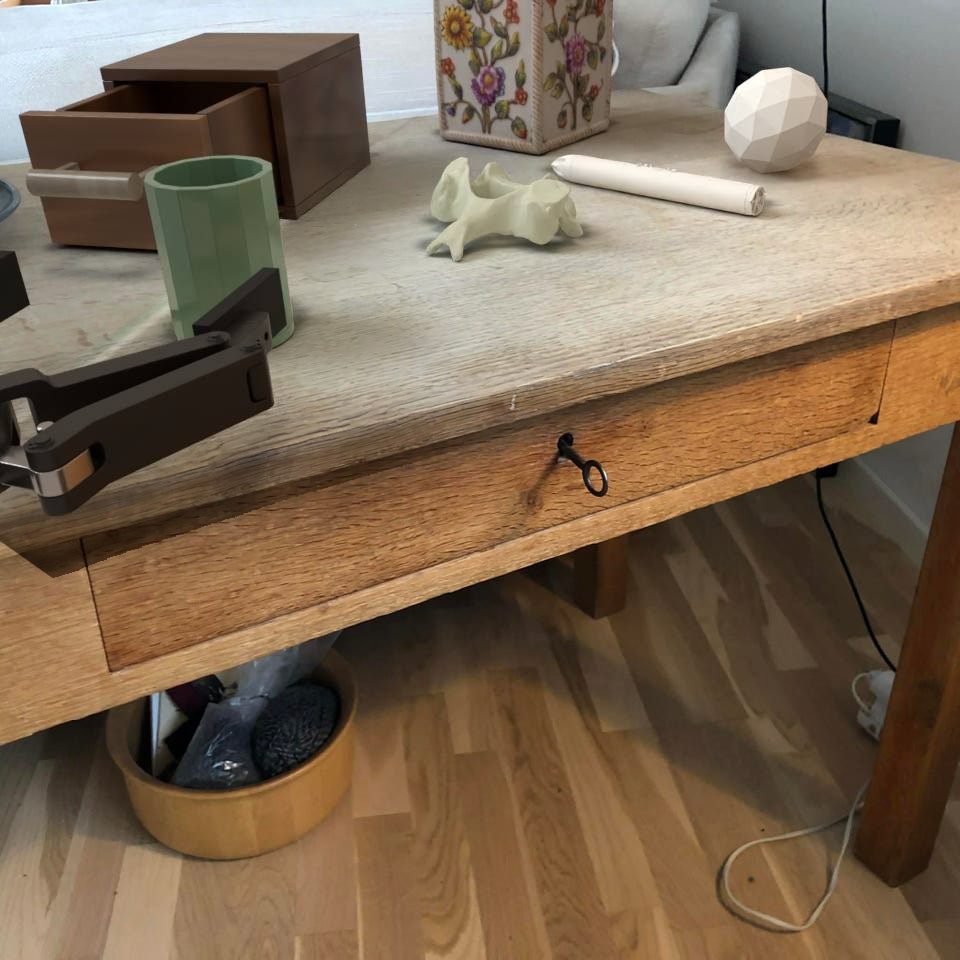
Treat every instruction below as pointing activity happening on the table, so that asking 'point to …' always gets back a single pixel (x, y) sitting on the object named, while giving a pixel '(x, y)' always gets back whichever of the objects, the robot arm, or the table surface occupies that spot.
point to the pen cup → (215, 233)
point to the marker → (662, 183)
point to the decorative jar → (523, 71)
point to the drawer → (136, 152)
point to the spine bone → (499, 207)
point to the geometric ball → (776, 120)
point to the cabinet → (280, 98)
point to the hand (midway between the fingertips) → (142, 286)
